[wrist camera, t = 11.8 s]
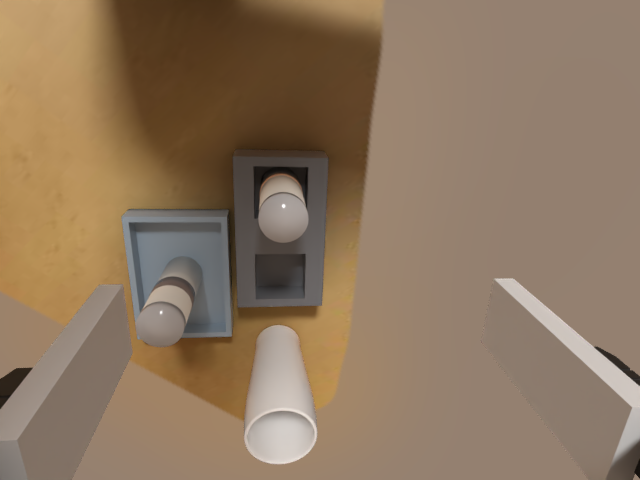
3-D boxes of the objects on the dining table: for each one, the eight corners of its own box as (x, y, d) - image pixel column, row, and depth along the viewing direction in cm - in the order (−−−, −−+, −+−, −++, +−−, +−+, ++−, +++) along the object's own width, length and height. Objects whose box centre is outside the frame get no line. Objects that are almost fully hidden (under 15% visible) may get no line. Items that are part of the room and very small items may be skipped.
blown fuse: (162, 255, 47) (132, 306, 37) (201, 255, 47) (182, 306, 37) (166, 290, 48) (137, 348, 38) (203, 289, 49) (185, 347, 38)
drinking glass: (263, 372, 54) (262, 475, 41) (240, 330, 52) (229, 425, 38) (313, 352, 54) (329, 449, 40) (292, 309, 52) (301, 397, 38)
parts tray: (128, 209, 45) (121, 216, 43) (228, 209, 46) (226, 216, 44) (143, 326, 50) (137, 339, 48) (233, 324, 51) (231, 336, 49)
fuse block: (235, 149, 44) (232, 156, 40) (323, 150, 45) (328, 158, 42) (240, 289, 50) (237, 307, 46) (318, 288, 51) (321, 305, 47)
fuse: (260, 165, 44) (257, 194, 34) (300, 166, 45) (309, 194, 34) (260, 204, 46) (258, 243, 35) (299, 204, 46) (308, 243, 36)
